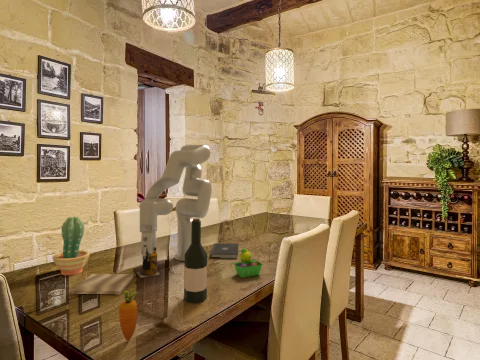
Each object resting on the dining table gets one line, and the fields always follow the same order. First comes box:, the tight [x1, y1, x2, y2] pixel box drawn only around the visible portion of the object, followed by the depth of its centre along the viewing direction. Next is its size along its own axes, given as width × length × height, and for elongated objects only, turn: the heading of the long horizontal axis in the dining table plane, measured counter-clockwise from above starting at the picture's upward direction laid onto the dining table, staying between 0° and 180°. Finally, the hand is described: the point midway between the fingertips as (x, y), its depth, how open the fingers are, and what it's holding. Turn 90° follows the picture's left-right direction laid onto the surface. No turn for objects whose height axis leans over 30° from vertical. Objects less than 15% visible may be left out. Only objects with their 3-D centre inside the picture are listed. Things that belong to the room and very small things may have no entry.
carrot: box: [118, 287, 138, 342], centre depth 89 cm, size 5×5×15 cm
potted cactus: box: [51, 216, 91, 276], centre depth 143 cm, size 15×15×25 cm
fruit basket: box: [233, 248, 263, 279], centre depth 144 cm, size 11×9×11 cm
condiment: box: [136, 247, 160, 279], centre depth 142 cm, size 7×8×12 cm
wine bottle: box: [183, 217, 208, 304], centre depth 117 cm, size 8×8×30 cm
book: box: [209, 242, 239, 259], centre depth 178 cm, size 22×15×3 cm
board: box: [70, 273, 135, 296], centre depth 128 cm, size 18×18×2 cm
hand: (148, 266), depth 143 cm, fingers closed on condiment, 6 cm apart
